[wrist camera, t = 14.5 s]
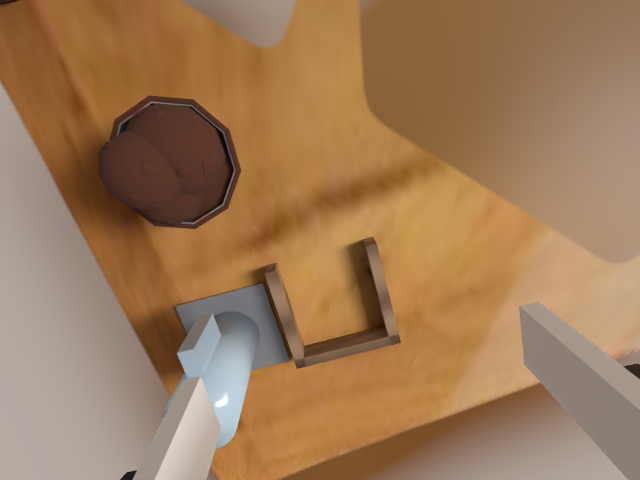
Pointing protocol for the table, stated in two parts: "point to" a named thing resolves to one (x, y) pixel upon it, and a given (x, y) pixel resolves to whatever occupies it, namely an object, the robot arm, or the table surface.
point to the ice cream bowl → (170, 162)
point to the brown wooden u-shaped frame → (342, 344)
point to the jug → (221, 364)
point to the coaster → (250, 304)
